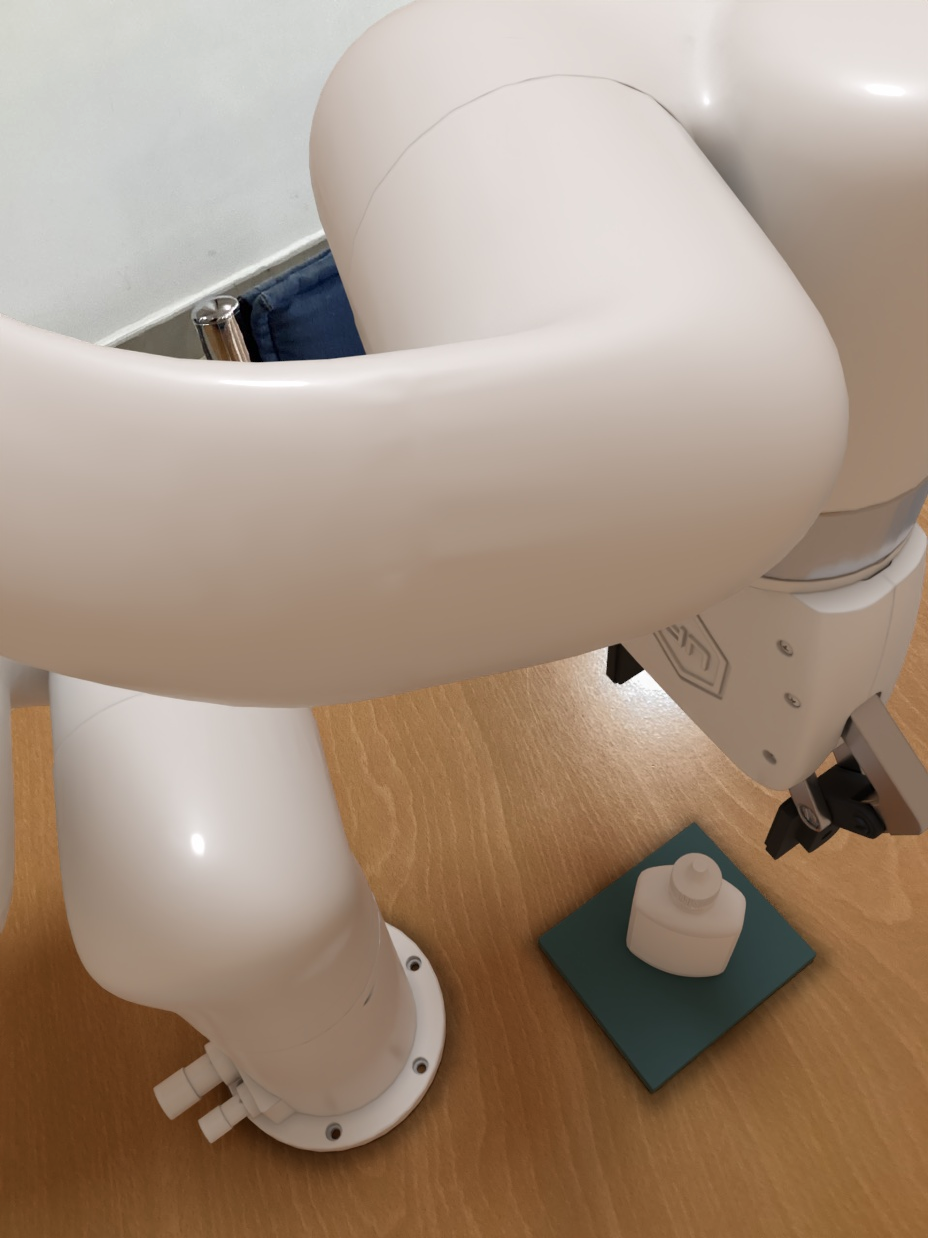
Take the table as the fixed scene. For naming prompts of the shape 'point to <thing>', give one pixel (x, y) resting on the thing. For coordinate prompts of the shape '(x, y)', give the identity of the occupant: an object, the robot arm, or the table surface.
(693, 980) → the mat
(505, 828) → the table surface
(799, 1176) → the table surface
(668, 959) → the eye dropper bottle
